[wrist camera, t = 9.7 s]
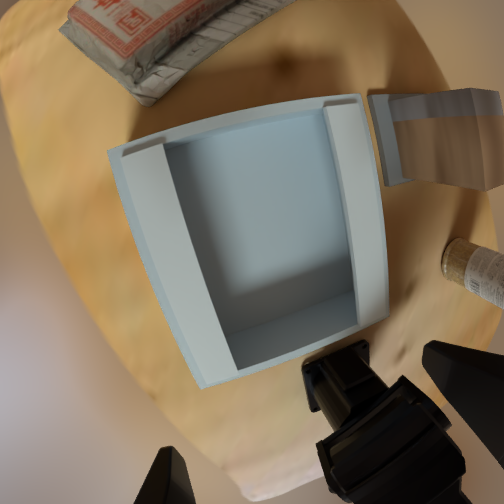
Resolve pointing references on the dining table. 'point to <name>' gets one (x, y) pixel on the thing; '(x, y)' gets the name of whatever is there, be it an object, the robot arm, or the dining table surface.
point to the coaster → (387, 137)
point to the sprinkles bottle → (475, 269)
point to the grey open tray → (259, 231)
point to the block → (451, 137)
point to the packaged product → (159, 36)
